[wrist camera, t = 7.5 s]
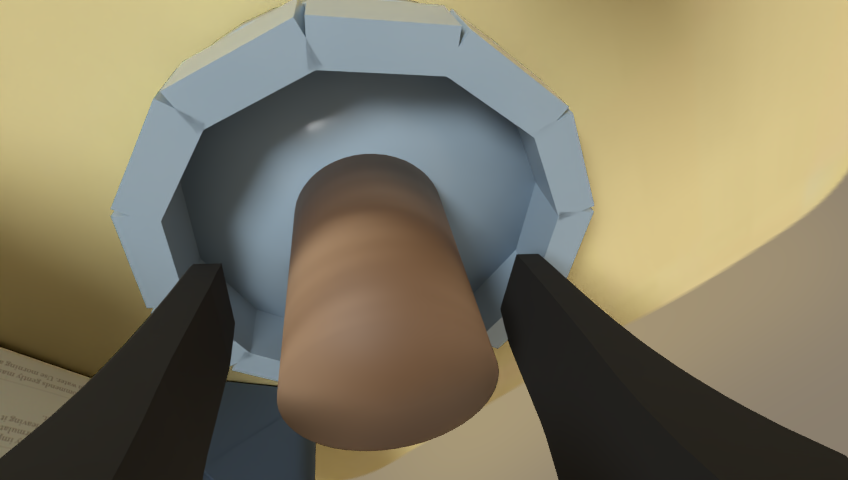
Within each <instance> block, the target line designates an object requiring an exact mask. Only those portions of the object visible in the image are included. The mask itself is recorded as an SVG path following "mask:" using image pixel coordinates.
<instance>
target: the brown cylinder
mask: <svg viewBox="0 0 848 480" xmlns="http://www.w3.org/2000/svg"><path fill="white" fill-rule="evenodd" d="M498 374H499V369H498V363H497V360H496V357H495V354H494V351H493V348H492V346H491V343H490V340H489V337H488V334H487V331H486V328H485V326H484V323H483V320H482V317H481V314H480V311H479V308H478V305H477V303H476V300H475V297H474V294H473V291H472V288H471V285H470V283H469V280H468V277H467V274H466V271H465V268H464V265H463V262H462V260H461V257H460V254H459V251H458V248H457V245H456V242H455V240H454V237H453V234H452V231H451V228H450V225H449V222H448V219H447V217H446V214H445V211H444V208H443V205H442V202H441V199H440V197H439V194H438V191H437V189H436V187H435V186H434V184H433V182H432V181H431V180H430V179H429V177H428V176H427V175H426V174H425V173H424V172H423V171H421V170H420V169H419V168H417V167H416V166H414V165H413V164H411V163H409V162H407V161H405V160H402V159H399V158H397V157H393V156H389V155H382V154H360V155H353V156H349V157H345V158H342V159H340V160H337V161H334V162H332V163H330V164H329V165H327V166H325V167H323V168H322V169H321V170H319V171H318V172H317V173H315V174H314V175H313V176H312V177H311V178H310V179H309V180H308V182H307V183H306V184H305V186H304V187H303V189H302V190H301V192H300V194H299V196H298V199H297V202H296V206H295V212H294V223H293V233H292V243H291V254H290V264H289V275H288V285H287V295H286V306H285V316H284V327H283V337H282V347H281V358H280V368H279V378H278V389H277V405H278V409H279V412H280V414H281V416H282V418H283V420H284V421H285V422H286V423H287V425H288V426H289V427H290V428H291V429H293V430H294V431H295V432H296V433H298V434H299V435H301V436H302V437H304V438H306V439H308V440H310V441H313V442H315V443H318V444H321V445H324V446H328V447H332V448H337V449H344V450H354V451H378V450H388V449H396V448H401V447H406V446H411V445H415V444H418V443H422V442H425V441H428V440H431V439H433V438H436V437H438V436H441V435H443V434H445V433H447V432H449V431H451V430H453V429H455V428H456V427H458V426H460V425H462V424H463V423H465V422H466V421H467V420H469V419H470V418H472V417H473V416H474V415H475V414H476V413H477V412H479V411H480V410H481V409H482V407H483V406H484V405H485V404H486V403H487V402H488V400H489V399H490V397H491V396H492V394H493V392H494V390H495V388H496V385H497V381H498Z"/></svg>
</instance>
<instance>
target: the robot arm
mask: <svg viewBox="0 0 848 480" xmlns="http://www.w3.org/2000/svg"><path fill="white" fill-rule="evenodd" d="M500 310H501V314H502V318H503V322H504V327H505V330H506V334H507V338H508V341H509V344H510V347H511V350H512V352H513V355H514V357H515V360H516V362H517V365H518V367H519V370H520V372H521V375H522V377H523V380H524V382H525V384H526V387H527V389H528V392H529V394H530V396H531V399H532V401H533V404H534V406H535V409H536V411H537V414H538V416H539V419H540V421H541V424H542V427H543V429H544V432H545V435H546V438H547V442H548V445H549V448H550V452H551V455H552V458H553V462H554V465H555V469H556V472H557V476H558V479H559V480H848V458H847V457H846V456H845V455H843V454H841V453H839V452H837V451H835V450H833V449H830V448H828V447H826V446H824V445H822V444H819V443H817V442H815V441H813V440H811V439H809V438H807V437H804V436H802V435H800V434H798V433H796V432H794V431H791V430H789V429H787V428H785V427H783V426H781V425H779V424H777V423H775V422H773V421H771V420H769V419H767V418H765V417H764V416H762V415H760V414H758V413H756V412H754V411H752V410H750V409H748V408H746V407H744V406H742V405H741V404H739V403H737V402H735V401H734V400H732V399H729V398H728V397H726V396H724V395H723V394H721V393H719V392H718V391H716V390H715V389H713V388H711V387H710V386H708V385H706V384H704V383H703V382H701V381H700V380H698V379H696V378H694V377H693V376H691V375H690V374H688V373H687V372H685V371H684V370H682V369H680V368H679V367H677V366H676V365H674V364H673V363H671V362H670V361H669V360H667V359H666V358H664V357H663V356H661V355H660V354H658V353H657V352H655V351H654V350H653V349H651V348H650V347H648V346H647V345H646V344H644V343H643V342H642V341H640V340H639V339H638V338H636V337H635V336H634V335H632V334H631V333H630V332H629V331H627V330H626V329H625V328H624V327H622V326H621V325H620V324H618V323H617V322H616V321H615V320H614V319H612V318H611V317H610V316H609V315H608V314H606V313H605V312H604V311H603V310H602V309H600V308H599V307H598V306H597V305H596V304H595V303H593V302H592V301H591V300H590V299H589V298H588V297H587V296H585V295H584V294H583V293H582V292H581V291H580V290H579V289H578V288H576V287H575V286H574V285H573V284H572V283H571V282H570V281H569V280H568V279H567V278H565V277H564V276H563V275H562V274H561V273H560V272H559V271H558V270H557V269H555V268H554V267H553V266H552V265H551V264H550V263H549V262H548V261H546V260H545V259H544V258H543V257H542V256H541V255H539V254H516V257H515V261H514V264H513V267H512V271H511V274H510V277H509V281H508V284H507V288H506V291H505V294H504V298H503V301H502V304H501V308H500ZM234 329H235V321H234V316H233V312H232V307H231V303H230V299H229V294H228V290H227V285H226V281H225V277H224V272H223V268H222V263H213V264H193V265H192V266H190V267H189V268H188V270H187V271H186V272H185V273H184V275H183V276H182V277H181V278H180V280H179V281H178V282H177V283H176V285H175V286H174V287H173V288H172V290H171V291H170V292H169V293H168V295H167V296H166V297H165V298H164V299H163V301H162V302H161V303H160V304H159V305H158V307H157V308H156V309H155V310H154V311H153V313H152V314H151V315H150V316H149V317H148V318H147V319H146V321H145V322H144V323H143V324H142V325H141V326H140V327H139V329H138V330H137V331H136V332H135V333H134V334H133V335H132V337H131V338H130V339H129V340H128V341H127V342H126V343H125V344H124V345H123V346H122V347H121V348H120V349H119V350H118V351H117V353H116V354H115V355H114V356H113V357H112V358H111V359H110V360H109V361H108V362H107V363H106V364H105V365H104V366H103V367H102V368H101V369H100V370H99V371H98V372H97V373H96V374H95V375H94V376H93V377H92V378H91V379H90V380H89V381H88V382H87V383H86V384H85V385H84V386H83V387H82V388H81V389H80V390H79V391H78V392H77V393H76V394H74V395H73V396H72V397H71V398H70V399H69V400H68V401H67V402H66V403H65V404H64V405H62V406H61V407H60V408H59V409H58V410H57V411H56V412H55V413H54V414H52V415H51V416H50V417H49V418H48V419H47V420H46V421H44V422H43V423H42V424H41V425H40V426H38V427H37V428H36V429H35V430H34V431H32V432H31V433H30V434H29V435H28V436H27V437H25V438H24V439H23V440H22V441H21V442H19V443H18V444H17V445H16V446H14V447H13V448H12V449H11V450H10V451H8V452H7V453H6V454H5V455H3V456H2V457H1V458H0V480H203V475H204V470H205V465H206V460H207V455H208V451H209V447H210V443H211V439H212V435H213V431H214V427H215V423H216V419H217V415H218V411H219V407H220V403H221V400H222V396H223V391H224V387H225V383H226V379H227V375H228V371H229V367H230V362H231V354H232V347H233V338H234Z"/></svg>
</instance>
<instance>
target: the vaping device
mask: <svg viewBox="0 0 848 480" xmlns="http://www.w3.org/2000/svg"><path fill="white" fill-rule="evenodd" d="M277 389H278V387H275V386H265V385H256V384H246V383H237V382H226V383H225V387H224V391H223V396H222V400H221V403H220V407H219V411H218V415H217V419H216V423H215V427H214V431H213V435H212V439H211V443H210V447H209V451H208V455H207V460H206V465H205V470H204V475H203V480H315V453H316V443H315V442H313V441H310V440H308V439H306V438H304V437H302V436H301V435H299V434H298V433H296V432H295V431H294V430H293V429H291V428H290V427H289V426H288V425H287V423H286V422H285V421H284V420H283V418H282V416H281V414H280V412H279V409H278V405H277Z"/></svg>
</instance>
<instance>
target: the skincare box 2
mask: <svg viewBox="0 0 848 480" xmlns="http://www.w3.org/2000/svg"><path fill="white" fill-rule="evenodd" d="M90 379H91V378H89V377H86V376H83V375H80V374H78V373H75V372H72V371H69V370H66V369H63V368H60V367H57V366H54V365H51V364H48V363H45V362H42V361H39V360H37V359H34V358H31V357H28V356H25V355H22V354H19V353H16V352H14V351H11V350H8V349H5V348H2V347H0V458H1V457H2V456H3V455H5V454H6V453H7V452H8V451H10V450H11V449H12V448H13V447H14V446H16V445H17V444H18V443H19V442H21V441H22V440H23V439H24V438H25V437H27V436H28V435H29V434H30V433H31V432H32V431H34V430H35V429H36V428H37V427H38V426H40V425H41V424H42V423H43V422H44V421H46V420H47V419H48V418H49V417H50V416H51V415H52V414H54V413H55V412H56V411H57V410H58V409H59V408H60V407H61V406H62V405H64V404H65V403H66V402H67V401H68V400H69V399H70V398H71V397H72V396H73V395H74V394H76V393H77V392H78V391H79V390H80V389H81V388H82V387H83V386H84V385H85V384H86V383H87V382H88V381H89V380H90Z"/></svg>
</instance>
